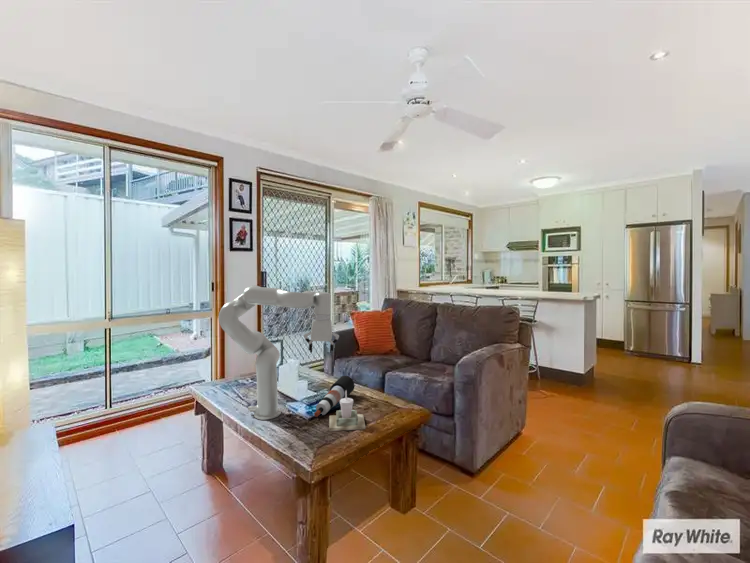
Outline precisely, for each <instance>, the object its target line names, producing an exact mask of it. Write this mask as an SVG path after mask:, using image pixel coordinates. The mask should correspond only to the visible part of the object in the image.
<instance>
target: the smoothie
mask: <svg viewBox="0 0 750 563" xmlns="http://www.w3.org/2000/svg"><path fill="white" fill-rule="evenodd" d="M339 404H340V410H341V412H342V418H351V413H352V410H353V404H354V399H353V398H352V397H348V396H347V391H345V398H342V399H341V400H340V401H339Z"/></svg>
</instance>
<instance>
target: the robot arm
mask: <svg viewBox="0 0 750 563" xmlns="http://www.w3.org/2000/svg"><path fill="white" fill-rule="evenodd" d="M331 296H332V295H331V293H329V292H326V291H325V292H324V291H319V292H318V291H317V292H316V291H311V290H305V291H303V292H298V291H297V292H296V291H289V290H284V289H281V288H277V287H265V286H264V287H263V286H259V285H251V286H248V287H246V288H245V289H244V290H243V292H242V294H240V295H239V296H237V297H236V298H235V299H234V300H231V301H228V302H226V303H225V304H223V306H222V307H221V308H220V311H219V313H218V323H219V325H220V328H221V329H222V331H223V332H224V333H226V335H227V336H229V337H230V339H232V341H234V343H235V344H236V345H237V346H238V347H239V348H240V349H241V350H242V351H243V352H244V353H246V354H247V355H254V354H256V356H257V357H256V359H255V365H254V366H255V370H256V371H255V374H256V403H257V404H256V405H254V406H253V405H252V406H248V407H247V410H248V411H249V413H253V417H254V418H255V419H257V420H262V421H266V420H267V421H268V420H272V419H275V418H278V417H279V416H280V415H281V414H282V410H281V409H280V408H279V407H278V404H279V403H278V398H279V397H278V370H277V369H278V368H277V364H278V362H279V359H280V356H281V355H280V354H281V353H280V350H279V349H278V347H276V346H275V344H274V343H273V342H271V340H270V339H269V338H268V337H266V336H265V334H263V333H262V332H260V331H256V330H253V331H251V330H250V329H249V327H247V325H245V324H244V322H242V321H240V319H239V318H240V317H242V316H244V314H246V313H247V312H248V311H251V310H252V308H253V307H255V306H256V305H259V306H275V307H279V308H280V307H282V308H289V309H290V308H292V309H301V310H302V309H304V310H305V309H310V308H311V307H312V306H313V307H314V313H313V314H310V315H311V318H312V322H311V328H310V329H311V330H310V331H308V332H307V333H304V334H303V338H304V340H305V342H306V343H308V351H309V352H310V353H312V352H313V343H314V342H329V343H330V344H329V345H330V346H329V353H330V354H332V352H333V351H334V344H335V343H336V342H338V340H339V338H340V335H339V334H338V333H335V332H334V331H333V325H332V324H333V323H332V320H331ZM308 336H310V339H309V338H308ZM333 337H335V338H334V339H333Z"/></svg>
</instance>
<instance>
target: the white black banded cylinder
mask: <svg viewBox="0 0 750 563" xmlns="http://www.w3.org/2000/svg"><path fill="white" fill-rule="evenodd" d="M355 386H356V385H355V382H354V379H353V378H352V377H350V376H348V375H342V376H340V377H339V378H338V379H337V380H336V381H335V382H334V383H333V384H332V385H331V386H330V388H329V392H327V393H326V394H325V396H324V397H323V398H322V399H321V400H320V401H319V403H318V404H316V406H315V410H316V411H315V412H314V414H313V416H314V417H316V418H317V417H319V416H320V414H322V415H321V416H325V415H326V414H327V413H328V412H330V410H332V409H333V408H334V407H335V406H337V404H338V403H340V400H341V399H342V398H345V391H347V397H348V396H349V395H350V394H352V392H353V391H354V390H355Z"/></svg>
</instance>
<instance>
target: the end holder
mask: <svg viewBox="0 0 750 563" xmlns="http://www.w3.org/2000/svg"><path fill="white" fill-rule="evenodd" d="M335 414H336V415H334V414H333V415H329V420H328V422H329V427H328V428H329V430H328V431H329V432H334V431H354V430H356V431H357V430H366V423H365V418H364V413H358V411H357V409H352V413H351V418H342V412H341V409H339V410H336V412H335Z"/></svg>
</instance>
